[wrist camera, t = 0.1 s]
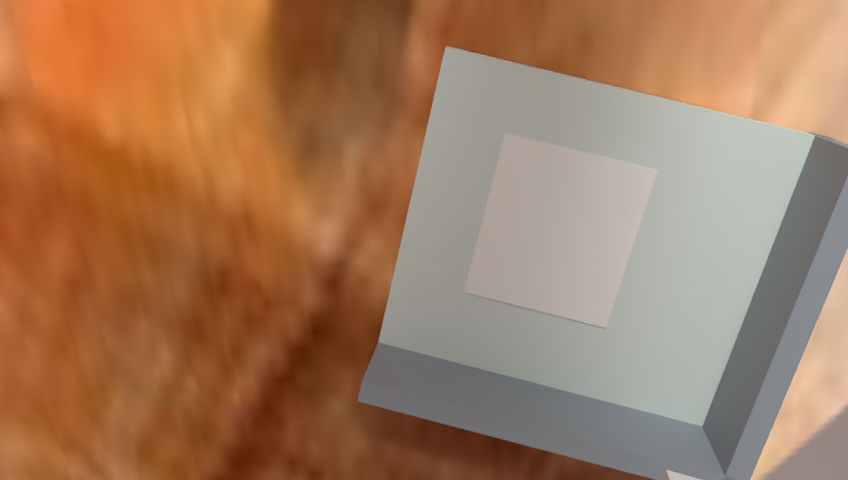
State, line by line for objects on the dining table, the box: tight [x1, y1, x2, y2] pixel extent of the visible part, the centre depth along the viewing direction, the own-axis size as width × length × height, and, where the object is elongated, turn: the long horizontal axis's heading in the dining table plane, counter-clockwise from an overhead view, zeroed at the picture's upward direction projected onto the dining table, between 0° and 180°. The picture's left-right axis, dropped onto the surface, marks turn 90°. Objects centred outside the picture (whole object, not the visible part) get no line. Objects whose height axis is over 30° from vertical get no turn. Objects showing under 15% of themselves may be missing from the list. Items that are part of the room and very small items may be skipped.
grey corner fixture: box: [358, 46, 848, 480], centre depth 39 cm, size 18×20×6 cm
